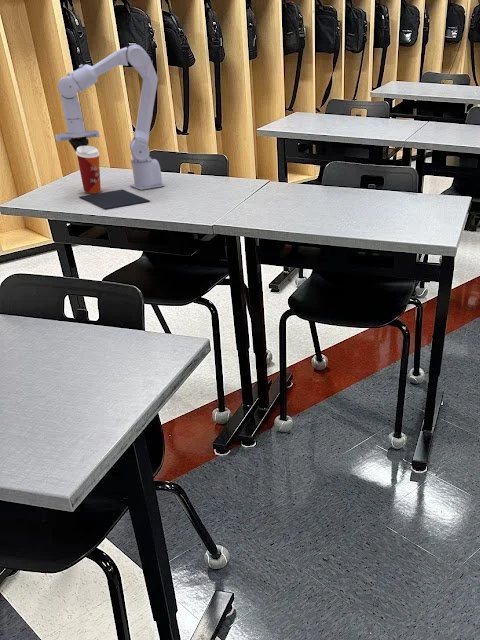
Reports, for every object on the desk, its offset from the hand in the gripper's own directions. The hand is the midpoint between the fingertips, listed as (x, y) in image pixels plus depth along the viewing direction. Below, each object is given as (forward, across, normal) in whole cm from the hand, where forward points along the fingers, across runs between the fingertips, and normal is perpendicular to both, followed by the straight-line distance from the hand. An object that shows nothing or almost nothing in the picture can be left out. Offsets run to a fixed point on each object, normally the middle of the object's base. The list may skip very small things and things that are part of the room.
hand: (82, 161), depth 229 cm
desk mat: (+9, -1, +18) cm, 21 cm away
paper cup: (+9, 0, +3) cm, 10 cm away
